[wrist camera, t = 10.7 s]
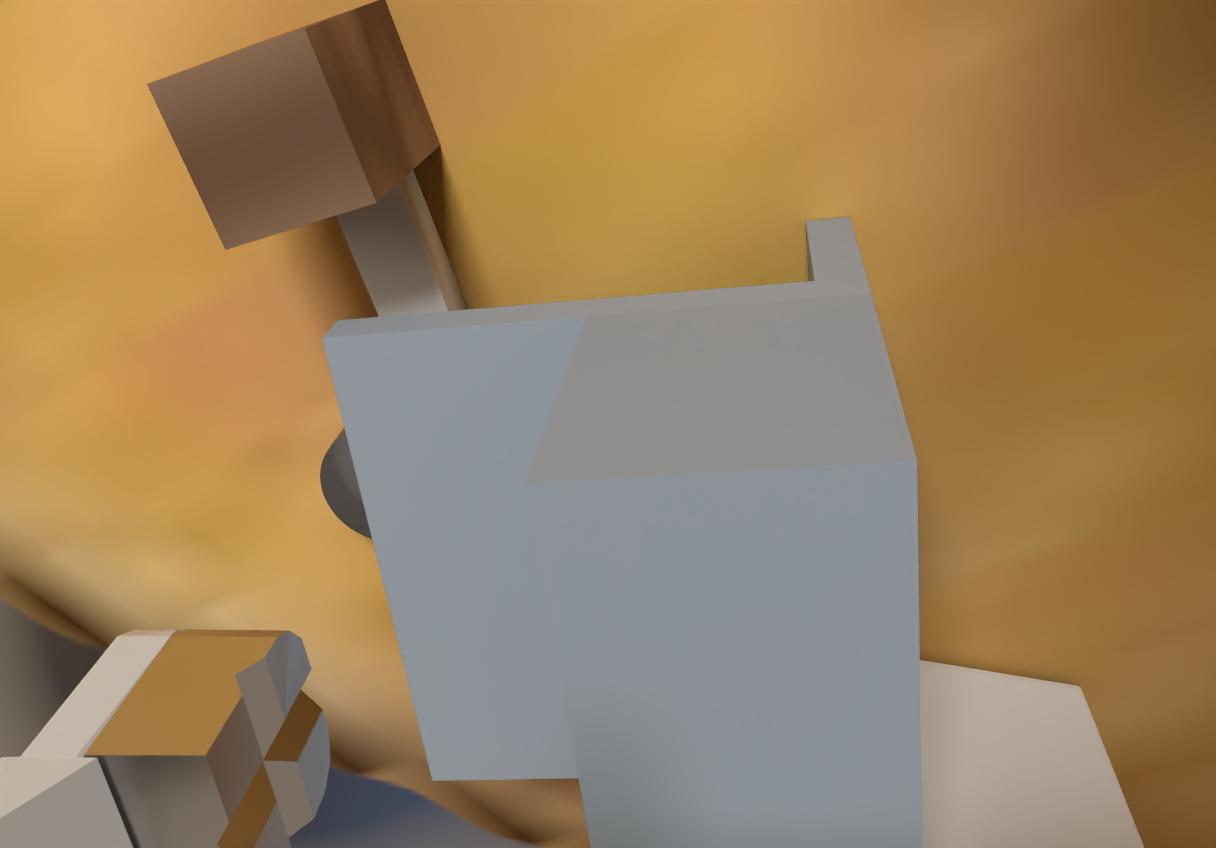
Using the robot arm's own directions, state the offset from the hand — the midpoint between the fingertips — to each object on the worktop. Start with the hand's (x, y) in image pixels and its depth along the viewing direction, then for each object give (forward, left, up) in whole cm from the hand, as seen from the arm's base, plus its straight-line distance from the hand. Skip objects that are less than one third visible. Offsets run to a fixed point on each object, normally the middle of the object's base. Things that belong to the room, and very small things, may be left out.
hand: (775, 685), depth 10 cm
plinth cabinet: (+10, -4, -23) cm, 26 cm away
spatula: (+5, -10, -23) cm, 26 cm away
